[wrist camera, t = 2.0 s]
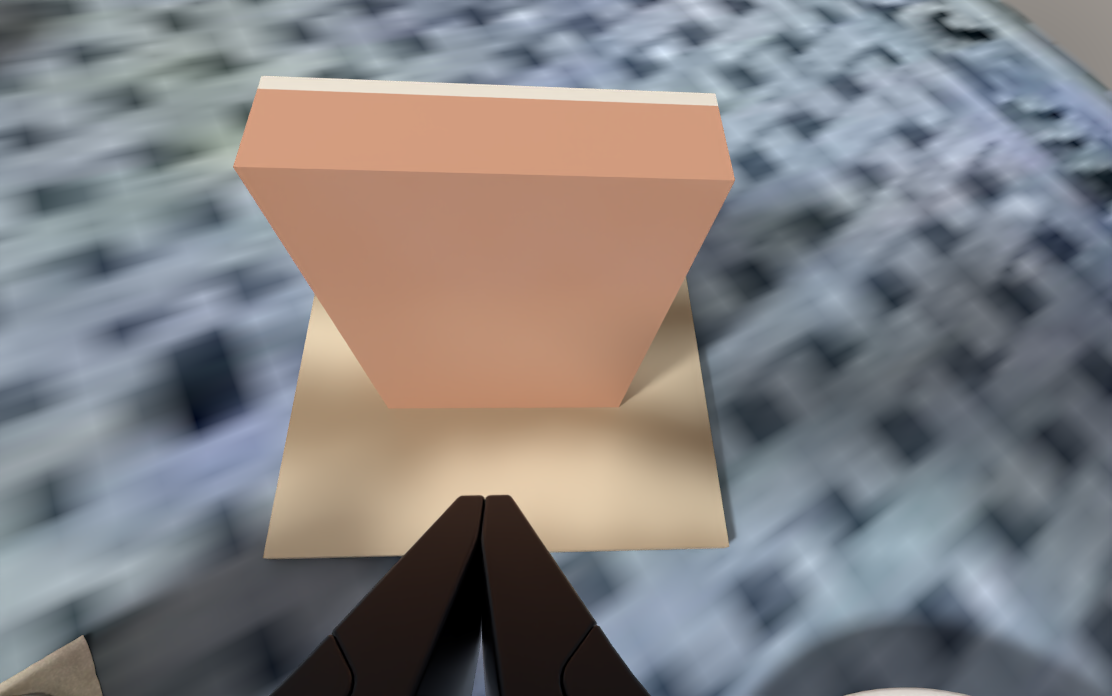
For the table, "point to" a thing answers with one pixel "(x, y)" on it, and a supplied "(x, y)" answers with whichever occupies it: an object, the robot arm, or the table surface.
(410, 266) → the tile
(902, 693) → the candlestick
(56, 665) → the condiment
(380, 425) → the board
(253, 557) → the table surface
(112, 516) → the table surface
